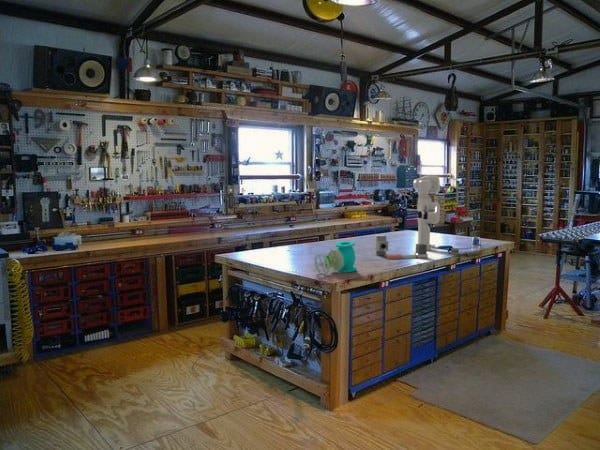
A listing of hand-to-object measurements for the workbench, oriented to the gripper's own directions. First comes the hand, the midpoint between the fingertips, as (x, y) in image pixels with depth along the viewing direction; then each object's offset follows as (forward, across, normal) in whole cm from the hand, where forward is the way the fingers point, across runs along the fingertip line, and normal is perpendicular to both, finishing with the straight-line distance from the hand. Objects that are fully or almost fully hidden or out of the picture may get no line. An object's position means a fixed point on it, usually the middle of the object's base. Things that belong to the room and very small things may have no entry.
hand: (422, 218), depth 389 cm
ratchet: (+28, +12, -18) cm, 35 cm away
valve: (+29, +52, -83) cm, 102 cm away
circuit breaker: (+28, -4, -32) cm, 43 cm away
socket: (+25, +12, -6) cm, 29 cm away
